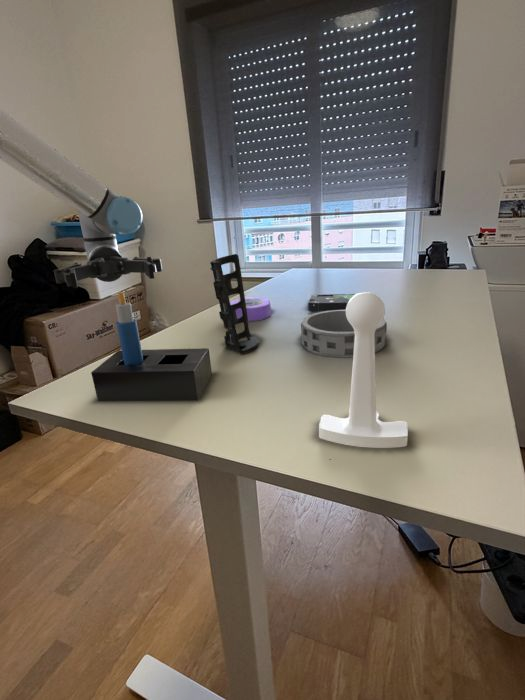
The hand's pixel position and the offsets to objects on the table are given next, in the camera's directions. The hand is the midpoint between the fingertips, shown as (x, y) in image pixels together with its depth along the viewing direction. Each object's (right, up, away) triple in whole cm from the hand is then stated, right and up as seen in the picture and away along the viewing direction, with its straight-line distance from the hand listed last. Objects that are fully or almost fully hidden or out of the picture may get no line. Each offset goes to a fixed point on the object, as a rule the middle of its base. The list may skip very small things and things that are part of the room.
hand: (113, 276), depth 74 cm
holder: (+22, -13, +17) cm, 31 cm away
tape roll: (+24, -4, +40) cm, 47 cm away
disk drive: (+48, -1, +43) cm, 65 cm away
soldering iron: (+5, -21, -2) cm, 22 cm away
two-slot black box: (+9, -21, -2) cm, 23 cm away
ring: (+45, -12, +15) cm, 49 cm away
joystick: (+41, -25, -19) cm, 52 cm away
